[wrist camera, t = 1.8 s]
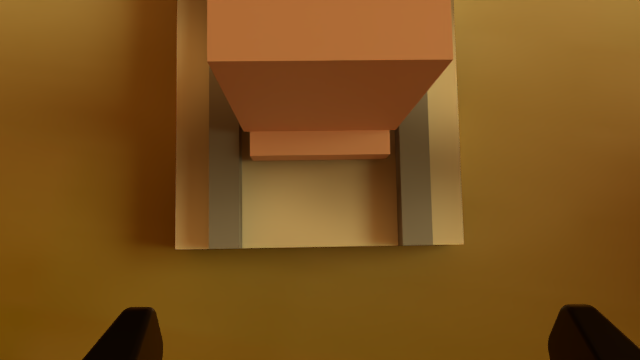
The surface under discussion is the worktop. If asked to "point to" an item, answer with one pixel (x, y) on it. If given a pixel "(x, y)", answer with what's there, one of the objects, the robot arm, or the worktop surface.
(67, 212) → the worktop surface
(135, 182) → the worktop surface
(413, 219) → the slider board
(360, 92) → the fader tab
